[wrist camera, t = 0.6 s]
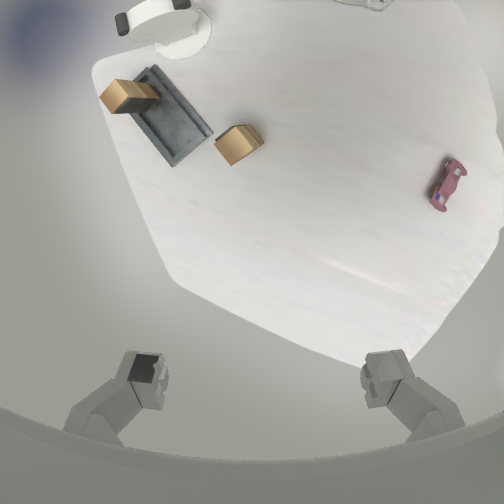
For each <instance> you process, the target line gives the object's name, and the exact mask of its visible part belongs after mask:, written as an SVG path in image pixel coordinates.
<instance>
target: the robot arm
mask: <svg viewBox="0 0 504 504" xmlns="http://www.w3.org/2000/svg"><path fill="white" fill-rule="evenodd" d="M335 1H338V2H341V3H345V4H352V5H362V6H366V7H368V8H370V9H373V10H376V11H382V10H383V9H384V8H386V7H387V6H388V5H389V4H390V3H392V2H393V1H394V0H381V1H383V3H381V2H380V0H335ZM365 360H366V364H365V365H364V366H363V367H362V370H361V377H360V379H361V385H362V388H364V389H365V390H366V391H367V392H366V394H365V399H366V402H367V406H368V408H376V407H384V406H387V408H388V409H389V410H390V411H391V412H392V413H393V414H394V415H395V416H396V417H397V418H398V419H399V420H400V421H401V422H402V423H403V424H404V425H405V426H406V427H407V428H408V429H409V430H410V431H411V432H412V434H411V435H410V436H409V438H408V439H407V440H406V442H405V443H404V444H400V445H395V446H391V447H385V448H380V449H376V450H369V451H364V452H357V453H350V454H343V455H334V456H326V457H314V458H301V459H281V460H232V459H213V458H212V459H211V458H200V457H188V456H180V455H171V454H164V453H158V452H151V451H145V450H139V449H134V448H129V447H124V445H123V443H122V442H121V441H120V439H119V438H118V437H117V434H118V433H119V432H120V431H121V430H122V429H123V428H124V427H125V426H126V425H127V424H128V423H129V422H130V421H131V420H132V419H133V418H134V417H135V416H136V415H137V414H138V413H139V412H140V411H141V410H142V408H146V409H156V410H162V407H163V403H164V398H165V396H164V394H163V392H164V391H165V390H166V389H167V386H168V379H169V375H168V369H167V367H166V366H165V365H164V362H165V359H164V356H163V354H158V353H150V352H141V351H131V350H127V351H126V352H125V354H124V356H123V359H122V361H121V364H120V366H119V369H118V371H117V374H116V376H115V379H110V380H109V381H108V382H106V383H105V384H103V385H102V386H101V387H99V388H98V389H97V390H95V391H94V392H92V393H91V394H90V395H88V396H87V397H86V398H84V399H83V400H81V401H80V402H79V403H77V404H76V405H74V406H73V407H72V409H71V411H70V413H69V416H68V418H67V420H66V423H65V425H64V428H63V430H59V429H56V428H53V427H50V426H47V425H44V424H41V423H39V422H36V421H33V420H31V419H28V418H26V417H23V416H21V415H18V414H16V413H13V412H11V411H9V410H7V409H4V408H1V407H0V504H504V411H503V412H500V413H498V414H495V415H493V416H491V417H488V418H485V419H483V420H480V421H477V422H475V423H472V424H469V425H465V423H464V421H463V418H462V416H461V414H460V412H459V409H458V407H457V405H456V404H455V403H454V402H453V401H451V400H450V399H448V398H447V397H446V396H444V395H443V394H441V393H440V392H439V391H437V390H436V389H434V388H433V387H432V386H430V385H429V384H427V383H426V382H425V381H423V380H422V379H421V378H419V377H415V375H414V373H413V371H412V369H411V367H410V364H409V362H408V360H407V358H406V356H405V353H404V351H403V350H402V349H399V350H391V351H381V352H372V353H368V354H367V356H366V358H365Z"/></svg>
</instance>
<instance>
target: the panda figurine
mask: <svg viewBox="0 0 504 504" xmlns="http://www.w3.org/2000/svg"><path fill="white" fill-rule="evenodd" d="M115 21H116V26H117V31H118V35H119V36H124V35H126V34H128V35H129V37H130V39H131V40H133V41H136V42H146V41H152V40H153V41H154V44H155V47H156V49H157V51H158V52H159V53H160V54H161V55H163V56H164V57H166V58H169V59H173V60H182V59H187V58H190V57H192V56H194V55H196V54H197V53H198V52H200V51H201V50H202V49H203V48H204V47H205V46H206V44H207V43H208V41H209V39H210V36H211V32H212V25H211V21H210V19H209V17H208V16H207V15H206V13H204V12H203V11H202V10H200V9H198V8H196V6H195V2H194V0H147V1H144V2H142V3H140V4H138V5H137V6H135V7H133V8H132V9H131V10H130V11H128V12H127V13H120V14H118V15H116V16H115Z"/></svg>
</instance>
